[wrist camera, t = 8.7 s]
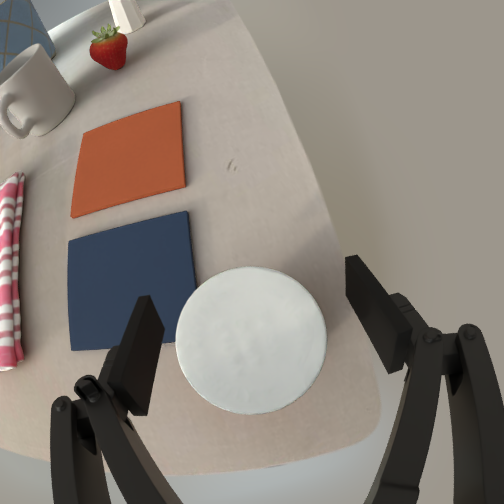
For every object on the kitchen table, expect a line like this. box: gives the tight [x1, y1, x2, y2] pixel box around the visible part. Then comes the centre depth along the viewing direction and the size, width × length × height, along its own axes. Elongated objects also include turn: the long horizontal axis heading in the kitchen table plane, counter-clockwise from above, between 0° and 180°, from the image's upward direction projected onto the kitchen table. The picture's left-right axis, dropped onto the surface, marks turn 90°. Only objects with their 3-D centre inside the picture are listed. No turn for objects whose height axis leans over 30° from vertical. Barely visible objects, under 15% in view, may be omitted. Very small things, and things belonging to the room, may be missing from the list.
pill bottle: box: [176, 266, 327, 415], centre depth 14 cm, size 6×6×11 cm
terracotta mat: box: [71, 101, 186, 218], centre depth 26 cm, size 12×11×1 cm
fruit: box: [90, 24, 128, 70], centre depth 28 cm, size 5×5×8 cm
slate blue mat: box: [68, 211, 197, 351], centre depth 22 cm, size 12×10×1 cm
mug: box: [0, 43, 75, 139], centre depth 25 cm, size 12×8×11 cm
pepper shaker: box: [109, 0, 146, 35], centre depth 31 cm, size 5×5×11 cm
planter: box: [0, 0, 56, 101], centre depth 28 cm, size 19×19×20 cm
